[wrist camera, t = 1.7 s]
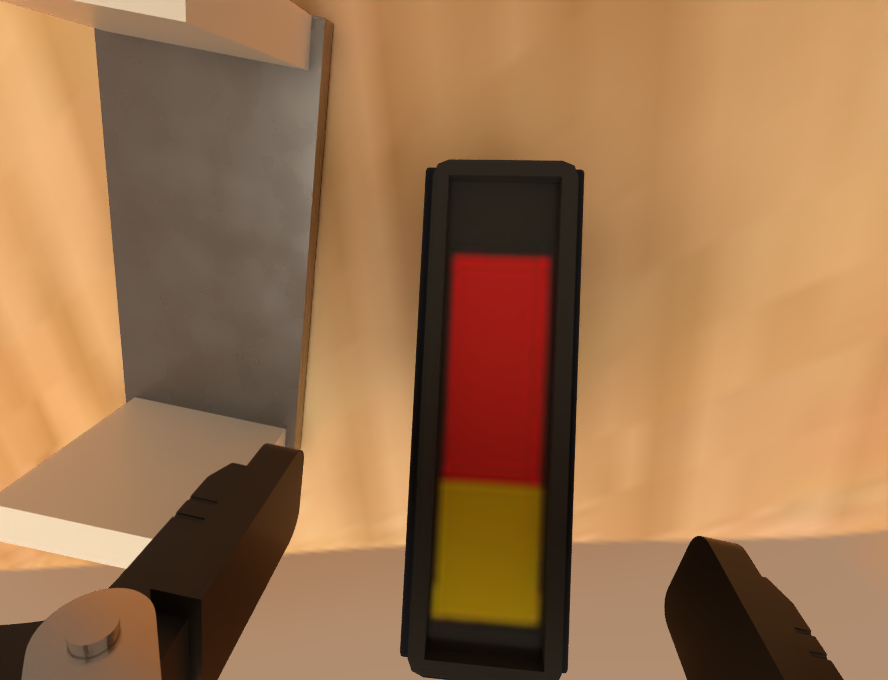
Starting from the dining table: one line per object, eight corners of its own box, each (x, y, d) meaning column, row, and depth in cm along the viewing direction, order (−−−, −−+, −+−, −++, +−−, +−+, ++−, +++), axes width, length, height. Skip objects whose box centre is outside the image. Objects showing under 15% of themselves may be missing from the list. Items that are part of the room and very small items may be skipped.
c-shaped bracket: (102, -25, 18) (-168, -140, 11) (311, 15, 18) (183, -74, 11) (137, 426, 26) (-7, 539, 18) (284, 457, 26) (198, 584, 18)
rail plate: (109, -19, 19) (90, -27, 18) (333, 24, 19) (325, 18, 18) (140, 414, 27) (128, 424, 26) (300, 448, 27) (293, 459, 26)
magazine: (447, 499, 25) (389, 691, 10) (459, 243, 26) (423, 65, 11) (521, 504, 24) (578, 712, 10) (532, 246, 25) (598, 64, 10)
